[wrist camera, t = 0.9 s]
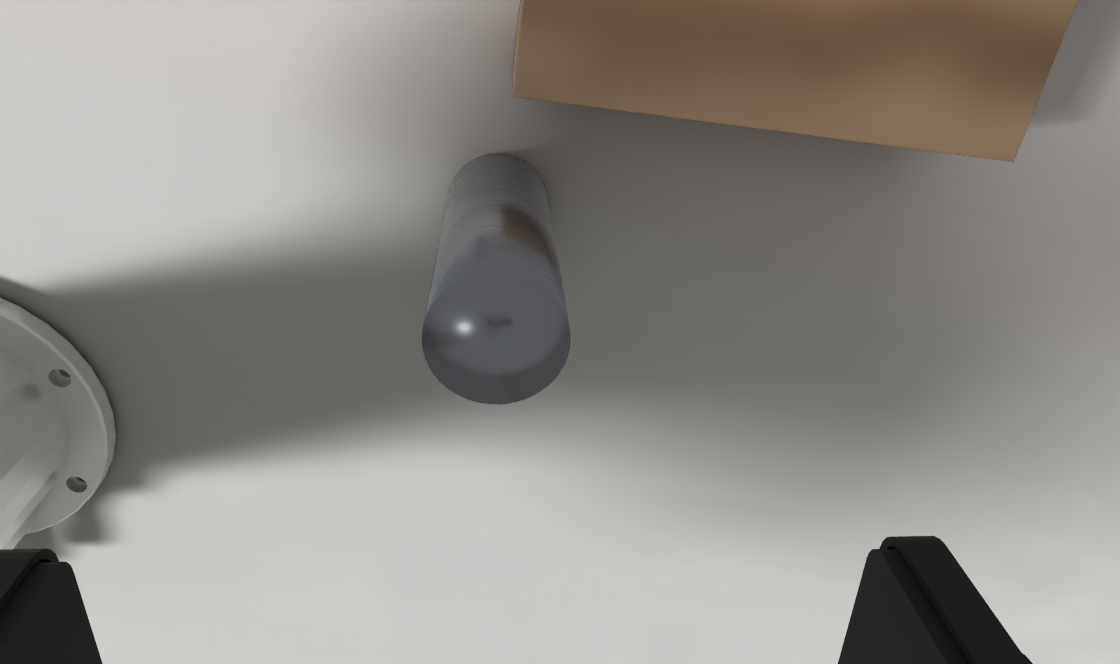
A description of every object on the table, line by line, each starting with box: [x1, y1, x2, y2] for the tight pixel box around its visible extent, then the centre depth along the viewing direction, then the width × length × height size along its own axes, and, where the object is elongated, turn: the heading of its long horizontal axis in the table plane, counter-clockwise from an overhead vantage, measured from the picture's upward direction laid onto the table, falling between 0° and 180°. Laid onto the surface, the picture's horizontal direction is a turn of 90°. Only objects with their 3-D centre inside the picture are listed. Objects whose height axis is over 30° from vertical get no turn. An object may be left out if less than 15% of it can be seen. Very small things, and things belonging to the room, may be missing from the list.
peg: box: [422, 154, 570, 404], centre depth 27 cm, size 4×4×12 cm
